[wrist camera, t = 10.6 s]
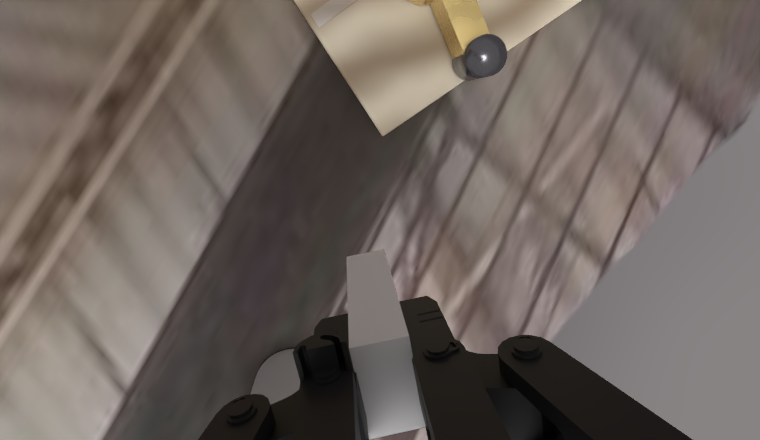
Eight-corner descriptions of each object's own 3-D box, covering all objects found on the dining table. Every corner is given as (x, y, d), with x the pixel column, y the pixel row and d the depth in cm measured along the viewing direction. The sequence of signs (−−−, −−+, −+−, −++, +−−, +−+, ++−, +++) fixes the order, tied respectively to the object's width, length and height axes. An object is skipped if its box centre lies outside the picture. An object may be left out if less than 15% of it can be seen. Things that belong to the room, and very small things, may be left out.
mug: (295, 332, 45) (279, 401, 34) (351, 381, 47) (353, 461, 36) (216, 403, 46) (177, 490, 35) (274, 448, 48) (254, 544, 37)
